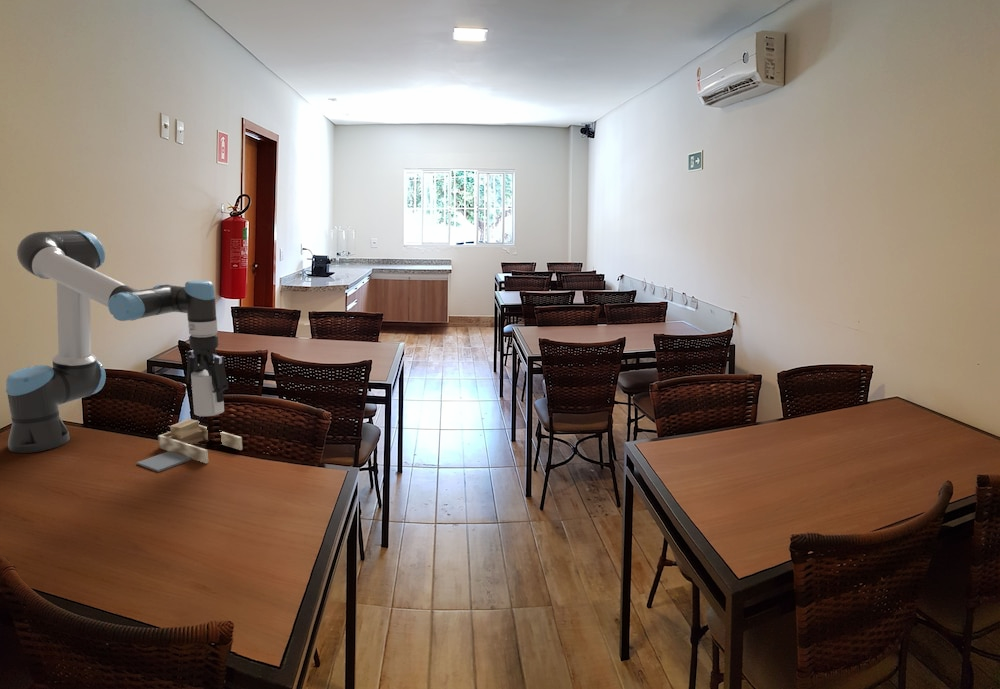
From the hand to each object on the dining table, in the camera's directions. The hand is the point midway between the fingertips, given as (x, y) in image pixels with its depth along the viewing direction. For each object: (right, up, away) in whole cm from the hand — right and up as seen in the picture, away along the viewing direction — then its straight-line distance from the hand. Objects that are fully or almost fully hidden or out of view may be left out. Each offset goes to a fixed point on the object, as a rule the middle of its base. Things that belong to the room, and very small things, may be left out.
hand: (209, 409), depth 184 cm
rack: (-5, -13, +6) cm, 15 cm away
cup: (0, -1, 0) cm, 1 cm away
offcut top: (-11, -9, +9) cm, 17 cm away
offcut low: (-12, -12, +10) cm, 19 cm away
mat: (-11, -15, -4) cm, 19 cm away
